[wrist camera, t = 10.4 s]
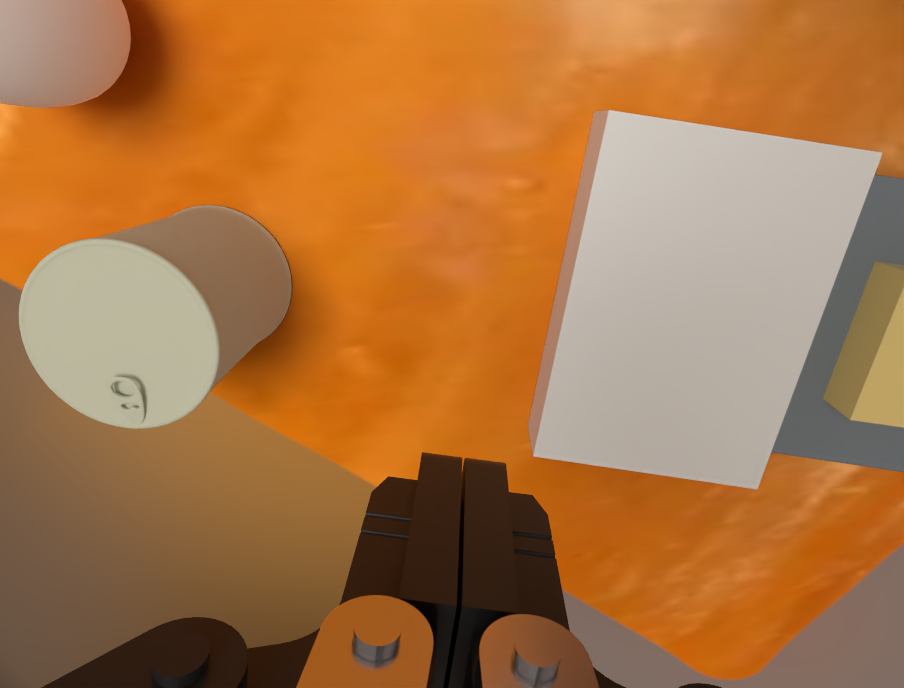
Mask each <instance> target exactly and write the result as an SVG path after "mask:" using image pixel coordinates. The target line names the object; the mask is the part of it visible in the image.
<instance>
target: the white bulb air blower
mask: <svg viewBox="0 0 904 688" xmlns="http://www.w3.org/2000/svg"><path fill="white" fill-rule="evenodd" d="M130 44H131V33H130V24H129V20H128V15H127V12H126V9H125V7H124V5H123V2H122V0H0V103H3V104H9V105H17V106H26V107H37V108H51V107H61V106H71V105H76V104H80V103H82V102H85V101H88V100H91V99H93V98H96V97H98V96H99V95H101V94H102V93H103V92H105V91H106V90H107V89H109V88H110V87H111V86H112V85H113V84H114V83H115V82H116V80H117V79H118V78H119V76H120V75H121V73H122V71H123V69H124V67H125V65H126V63H127V60H128V56H129V52H130Z"/></svg>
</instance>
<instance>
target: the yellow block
mask: <svg viewBox="0 0 904 688" xmlns="http://www.w3.org/2000/svg"><path fill="white" fill-rule="evenodd" d="M823 399H824V400H825V401H826V402H828V403H829V404H830V405H831V406H833V407H834V408H835V409H837V410H838V411H839V412H840V413H842V414H843V415H844V416H846V417H847V418H848V419H849V420H854V421H861V422H868V423H875V424H882V425H889V426H896V427H903V428H904V265H898V264H891V263H884V262H877V261H875V263H874V266H873V268H872V271H871V273H870V276H869V279H868V281H867V284H866V287H865V289H864V292H863V294H862V297H861V300H860V302H859V305H858V307H857V310H856V313H855V315H854V318H853V321H852V323H851V326H850V328H849V331H848V334H847V336H846V339H845V341H844V344H843V347H842V349H841V352H840V355H839V357H838V360H837V362H836V365H835V368H834V370H833V373H832V375H831V378H830V381H829V383H828V386H827V389H826V391H825V394H824V396H823Z"/></svg>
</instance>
